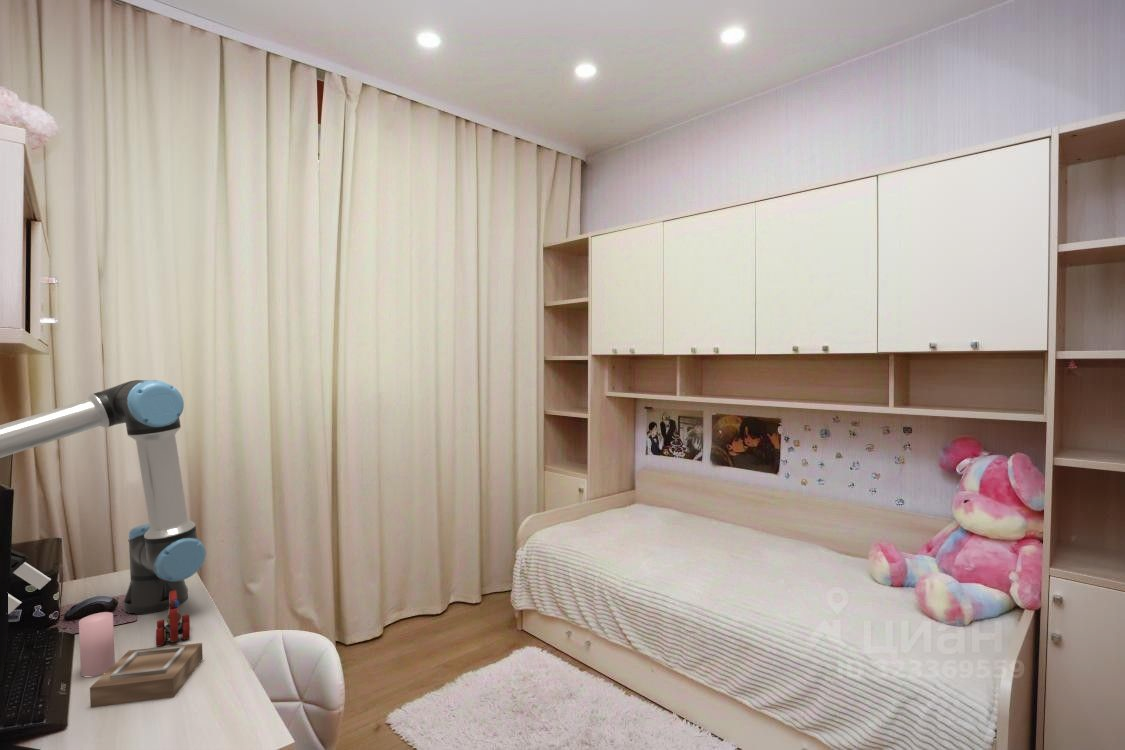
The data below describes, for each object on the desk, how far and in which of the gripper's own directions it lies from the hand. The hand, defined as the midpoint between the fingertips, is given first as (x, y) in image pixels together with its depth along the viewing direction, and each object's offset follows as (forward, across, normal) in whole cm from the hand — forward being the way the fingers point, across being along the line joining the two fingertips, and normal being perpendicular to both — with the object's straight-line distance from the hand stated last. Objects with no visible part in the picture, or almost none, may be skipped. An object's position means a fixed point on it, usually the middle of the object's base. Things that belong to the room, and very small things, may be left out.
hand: (31, 595), depth 125 cm
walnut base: (+30, +10, +3) cm, 32 cm away
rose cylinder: (+21, 0, -5) cm, 22 cm away
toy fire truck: (+30, -12, +3) cm, 32 cm away
